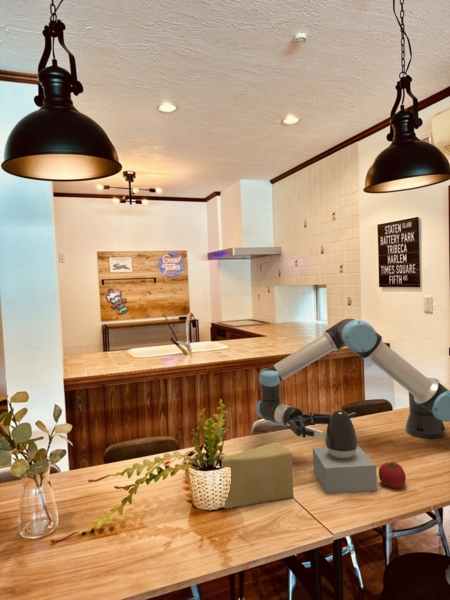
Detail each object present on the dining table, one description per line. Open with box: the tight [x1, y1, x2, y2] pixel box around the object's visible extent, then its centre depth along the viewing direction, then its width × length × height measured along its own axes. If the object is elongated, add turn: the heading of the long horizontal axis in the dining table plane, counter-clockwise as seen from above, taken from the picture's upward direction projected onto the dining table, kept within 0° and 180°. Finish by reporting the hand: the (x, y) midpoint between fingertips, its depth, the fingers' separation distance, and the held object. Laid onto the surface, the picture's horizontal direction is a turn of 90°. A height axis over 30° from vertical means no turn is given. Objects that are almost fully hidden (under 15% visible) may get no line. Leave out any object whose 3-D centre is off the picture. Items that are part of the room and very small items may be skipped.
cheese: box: [220, 441, 294, 509], centre depth 120 cm, size 22×10×15 cm, turn 112°
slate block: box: [312, 445, 378, 495], centre depth 130 cm, size 16×16×8 cm
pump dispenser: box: [324, 409, 359, 459], centre depth 130 cm, size 10×10×15 cm
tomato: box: [378, 461, 407, 489], centre depth 125 cm, size 8×8×7 cm
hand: (336, 430), depth 131 cm, fingers open, 13 cm apart
